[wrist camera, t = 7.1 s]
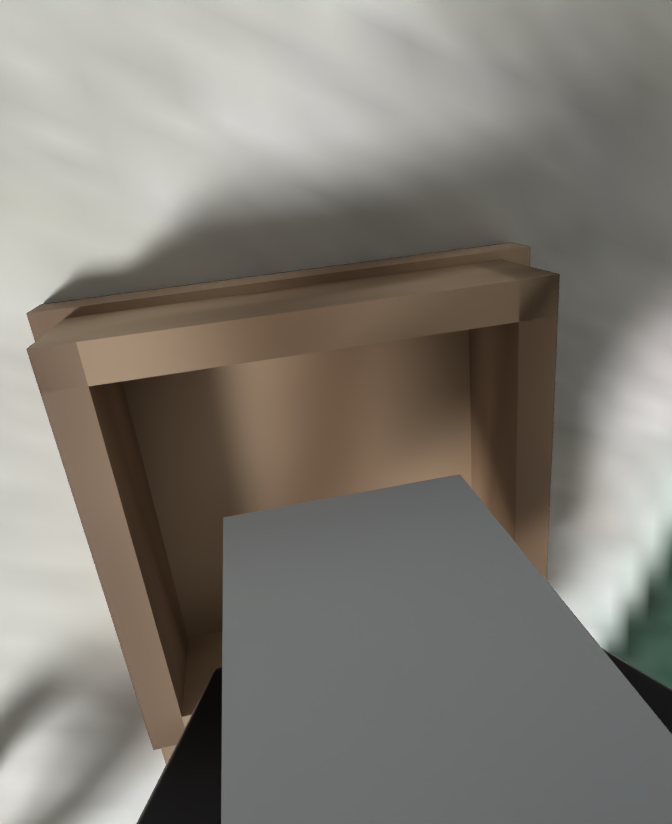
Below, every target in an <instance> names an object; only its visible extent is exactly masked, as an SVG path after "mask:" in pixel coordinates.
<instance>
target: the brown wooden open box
mask: <svg viewBox="0 0 672 824" xmlns="http://www.w3.org/2000/svg"><path fill="white" fill-rule="evenodd" d="M559 276H560V274H556V273H552V272H548V271H545V270H541V269H537V268H533V267H530V246H525V245H519V244H514V243H505V244H497V245H490V246H482V247H474V248H467V249H459V250H452V251H444V252H436V253H429V254H421V255H413V256H406V257H398V258H391V259H383V260H375V261H368V262H360V263H353V264H345V265H337V266H330V267H322V268H314V269H307V270H299V271H292V272H284V273H276V274H269V275H261V276H254V277H246V278H238V279H231V280H223V281H215V282H208V283H200V284H193V285H185V286H177V287H170V288H162V289H155V290H147V291H139V292H132V293H124V294H116V295H109V296H101V297H94V298H86V299H78V300H71V301H63V302H56V303H48V304H41V305H39V306H38V307H36V308H34V309H33V310H31V311H30V312H28V313H26V314H27V317H28V320H29V323H30V326H31V330H32V333H33V336H34V339H35V343H33V344H32V345H31V346H30V347H28V348H27V352H28V355H29V359H30V362H31V365H32V368H33V371H34V374H35V377H36V381H37V384H38V387H39V390H40V393H41V396H42V400H43V403H44V406H45V409H46V412H47V415H48V418H49V422H50V425H51V428H52V431H53V434H54V437H55V441H56V444H57V447H58V450H59V453H60V456H61V459H62V463H63V466H64V469H65V472H66V475H67V478H68V482H69V485H70V488H71V491H72V494H73V497H74V500H75V504H76V507H77V510H78V513H79V516H80V519H81V523H82V526H83V529H84V532H85V535H86V538H87V541H88V545H89V548H90V551H91V554H92V557H93V560H94V564H95V567H96V570H97V573H98V576H99V579H100V582H101V586H102V589H103V592H104V595H105V598H106V601H107V604H108V608H109V611H110V614H111V617H112V620H113V623H114V627H115V630H116V633H117V636H118V639H119V642H120V645H121V649H122V652H123V655H124V658H125V661H126V664H127V668H128V671H129V674H130V677H131V680H132V683H133V686H134V690H135V693H136V696H137V699H138V702H139V705H140V709H141V712H142V715H143V718H144V721H145V724H146V727H147V731H148V734H149V737H150V740H151V743H152V746H153V750H156V749H160V748H161V749H162V753H163V756H164V759H165V762H166V764H167V762H168V760H169V759H170V757H171V755H172V753H173V751H174V749H175V747H176V745H177V743H178V741H179V739H180V737H181V735H182V733H183V731H184V729H185V727H186V725H187V723H188V721H189V719H190V717H191V715H192V713H193V711H194V709H195V707H196V705H197V703H198V701H199V699H200V697H201V695H202V693H203V691H204V689H205V687H206V685H207V683H208V681H209V679H210V677H211V675H212V673H213V672H214V670H215V669H217V668H219V667H222V628H223V517H228V516H234V515H239V514H245V513H250V512H256V511H261V510H267V509H272V508H277V507H283V506H288V505H294V504H299V503H305V502H310V501H316V500H321V499H327V498H332V497H338V496H343V495H348V494H354V493H359V492H365V491H370V490H376V489H381V488H387V487H392V486H398V485H403V484H409V483H414V482H420V481H425V480H430V479H436V478H441V477H447V476H452V475H458V474H460V475H461V476H462V478H463V479H464V480H465V481H466V482H467V484H468V485H469V486H470V487H471V489H472V490H473V491H474V492H475V494H476V495H477V496H478V497H479V498H480V500H481V501H482V502H483V503H484V505H485V506H486V507H487V508H488V509H489V511H490V512H491V513H492V514H493V516H494V517H495V518H496V519H497V520H498V522H499V523H500V524H501V525H502V527H503V528H504V529H505V530H506V532H507V533H508V534H509V535H510V536H511V538H512V539H513V540H514V541H515V543H516V544H517V545H518V546H519V547H520V549H521V550H522V551H523V552H524V554H525V555H526V556H527V557H528V558H529V560H530V561H531V562H532V563H533V565H534V566H535V567H536V568H537V570H538V571H539V572H540V573H541V574H542V576H543V577H544V578H545V579H546V577H547V554H548V531H549V507H550V484H551V461H552V438H553V415H554V392H555V369H556V346H557V323H558V299H559Z"/></svg>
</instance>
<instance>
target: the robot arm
mask: <svg viewBox="0 0 672 824" xmlns="http://www.w3.org/2000/svg"><path fill="white" fill-rule="evenodd" d="M602 649H603V648H602ZM603 650H604V649H603ZM604 652H605V653H606V654H607V655H608V657H609V658H610V659H611V660H612V662H613V663H614V664H615V665H616V666H617V668H618V669H619V670H620V671H621V673H622V674H623V675H624V676H625V677H626V679H627V680H628V681H629V682H630V684H631V685H632V686H633V687H634V688H635V690H636V691H637V692H638V693H639V695H640V696H641V697H642V698H643V700H644V701H645V702H646V703H647V704H648V706H649V707H650V708H651V709H652V711H653V712H654V713H655V714H656V715H657V717H658V718H659V719H660V720H661V722H662V723H663V724H664V725H665V727H666V728H667V729H668V730H669V731H670V733H671V734H672V690H671V689H670V688H668V687H666V686H665V685H663V684H661V683H660V682H658V681H656V680H655V679H653V678H651V677H650V676H648V675H646V674H645V673H643V672H641V671H640V670H638V669H636V668H634V667H633V666H631V665H629V664H628V663H626V662H624V661H623V660H621V659H619V658H618V657H616V656H614V655H613V654H611V653H609V652H608V651H606V650H604ZM221 773H222V667H219V668H217V669H215V670H214V672H213V673H212V675H211V677H210V679H209V681H208V683H207V685H206V687H205V689H204V691H203V693H202V695H201V697H200V699H199V701H198V703H197V705H196V707H195V709H194V711H193V713H192V715H191V717H190V719H189V721H188V723H187V725H186V727H185V729H184V731H183V733H182V735H181V737H180V739H179V741H178V743H177V745H176V747H175V749H174V751H173V753H172V755H171V757H170V759H169V760H168V762H167V764H166V766H165V768H164V770H163V772H162V774H161V776H160V778H159V780H158V782H157V784H156V786H155V788H154V790H153V792H152V794H151V796H150V798H149V800H148V802H147V804H146V806H145V808H144V810H143V812H142V814H141V816H140V818H139V820H138V822H137V824H221Z"/></svg>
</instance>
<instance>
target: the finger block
mask: <svg viewBox="0 0 672 824" xmlns="http://www.w3.org/2000/svg"><path fill="white" fill-rule="evenodd" d="M221 824H672V734H671V733H670V731H669V730H668V729H667V728H666V727H665V725H664V724H663V723H662V722H661V720H660V719H659V718H658V717H657V715H656V714H655V713H654V712H653V711H652V709H651V708H650V707H649V706H648V704H647V703H646V702H645V701H644V700H643V698H642V697H641V696H640V695H639V693H638V692H637V691H636V690H635V688H634V687H633V686H632V685H631V684H630V682H629V681H628V680H627V679H626V677H625V676H624V675H623V674H622V673H621V671H620V670H619V669H618V668H617V666H616V665H615V664H614V663H613V662H612V660H611V659H610V658H609V657H608V655H607V654H606V653H605V652H604V650H603V649H602V648H601V647H600V646H599V644H598V643H597V642H596V641H595V639H594V638H593V637H592V636H591V635H590V633H589V632H588V631H587V630H586V628H585V627H584V626H583V625H582V623H581V622H580V621H579V620H578V619H577V617H576V616H575V615H574V614H573V612H572V611H571V610H570V609H569V608H568V606H567V605H566V604H565V603H564V601H563V600H562V599H561V598H560V597H559V595H558V594H557V593H556V592H555V590H554V589H553V588H552V587H551V585H550V584H549V583H548V582H547V581H546V579H545V578H544V577H543V576H542V574H541V573H540V572H539V571H538V570H537V568H536V567H535V566H534V565H533V563H532V562H531V561H530V560H529V558H528V557H527V556H526V555H525V554H524V552H523V551H522V550H521V549H520V547H519V546H518V545H517V544H516V543H515V541H514V540H513V539H512V538H511V536H510V535H509V534H508V533H507V532H506V530H505V529H504V528H503V527H502V525H501V524H500V523H499V522H498V520H497V519H496V518H495V517H494V516H493V514H492V513H491V512H490V511H489V509H488V508H487V507H486V506H485V505H484V503H483V502H482V501H481V500H480V498H479V497H478V496H477V495H476V494H475V492H474V491H473V490H472V489H471V487H470V486H469V485H468V484H467V482H466V481H465V480H464V479H463V478H462V476H461V475H460V474H458V475H452V476H447V477H441V478H436V479H430V480H425V481H420V482H414V483H409V484H403V485H398V486H392V487H387V488H381V489H376V490H370V491H365V492H359V493H354V494H348V495H343V496H338V497H332V498H327V499H321V500H316V501H310V502H305V503H299V504H294V505H288V506H283V507H277V508H272V509H267V510H261V511H256V512H250V513H245V514H239V515H234V516H228V517H223V628H222V773H221Z"/></svg>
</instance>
